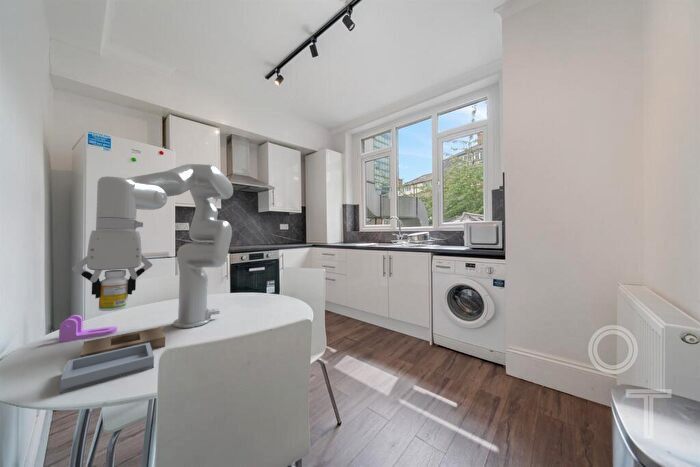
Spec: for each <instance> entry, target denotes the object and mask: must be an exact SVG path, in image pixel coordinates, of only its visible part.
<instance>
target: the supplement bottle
mask: <svg viewBox="0 0 700 467" xmlns="http://www.w3.org/2000/svg"><path fill="white" fill-rule="evenodd" d="M104 271H105V272H104V278H105V279H102V280H100V281H101V282H100V297H99V298H98V311H101V312H110V311H111V312H112V311H118V310H122V309H125V308H127V307H128V304H129V294H128V288H129V280H128V279H129V278H126V277H125V276H126V275H127V269H115V270H104Z"/></svg>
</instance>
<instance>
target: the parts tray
mask: <svg viewBox="0 0 700 467" xmlns="http://www.w3.org/2000/svg"><path fill="white" fill-rule="evenodd" d="M153 352H154V351H153V349H152V348H151V345H150V343H145V344H141V345H136V346H132V347H127V348H122V349H118V350H113V351H109V352H104V353H100V354H95V355H91V356H86V357H82V358H80V357H78V358H74V359H69V360H67V362H66V364H65V367H64V370H63V372H62V375H61V378H60V388H59V390H60V391H59V394H64V393H67V392H71V391H74V390H77V389H82V388H84V387H85V388H86V387H89V386H91V385H96V384H99V383H102V382H107V381H110V380H111V381H112V380H114V379H117V378H120V377H121V378H122V377H125V376H128V375H132V374H135V373H139V372H143V371H148V370H150V369H153V368H154V364H155V355H154V353H153ZM63 392H64V393H63Z"/></svg>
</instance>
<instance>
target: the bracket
mask: <svg viewBox="0 0 700 467" xmlns="http://www.w3.org/2000/svg"><path fill="white" fill-rule="evenodd" d="M83 321H84V320H83V317H82V316H81V315H79V314H73V315H70V316H69V317H68V318H66V319H64V320H63V321H61V323H60V324H59V326H58V327H59V331H58V333H59V334H58V343H63V342H71V341H77V340H83V339H91V338H97V337H98V338H99V337H105V336H111V335H113V334H115V333H117V331H118V327H117V326H107V327H105V326H104V327H98V328H89V329H83V327H84V326H83Z"/></svg>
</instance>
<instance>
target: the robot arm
mask: <svg viewBox="0 0 700 467" xmlns="http://www.w3.org/2000/svg"><path fill="white" fill-rule="evenodd" d="M188 191H189V192H190V194H191V198H192V200H193V203H194V206H195V211H194V214H193V218H192V221H191V225H190V227H189V232H188V236H189V238H190V239H191V240H192V241H193V242H195V243H193V242H191V243H185V244H183V245H181V246H180V247H179V248H178V250H177V253H176V259H177V266H178V270H179V281H178V282H179V283H178V286H179V287H178V315H177V316H178V317H177V318H176V319H175V320H174V321H173V322H172V325H173V327H174V328H180V329H184V328H185V329H186V328H187V329H188V328H195V326H196V327H200V326H202V325H206V324H208V323H210V322H211V318H212V317H211V316H212V315H213V316H214V315H219V314H220V309H219V308H218V309H212V308H211V309H208V308H207V307H208V306H207V305H208V275H207V273H206V271H205V270H204V268H221V267H223V265H225V263H226V261H227V259H228V258H227V257H228V254H229V250H230V246H231V242H232V237H233V228H232V225H231V224H230V222H229V221H227V220H225V219H218V215H219V211H218V208H217V207H216V205H215V203H213V202H212V200H229V199H230V198H231V197H232V196H233V194H234V187H233V184H232V182H231V181H230V179H229V178H228V177H227V176H226V175H225V174H224V173H223V172H222V171H221V170H220V169H219V168H218V167H216V166H214V165H212V164H201V163H199V164H198V163H197V164H196V163H186V164H182V165H180V166H176V167H173V168H171V169H168V170H165V171H160V172H153V173H147V174H141V175H136V176H130V177H127V178H125V177H119V176H108V175H107V176H102V177H100V178H99V179H98V180H97V191H96V194H97V195H96V216H95V217H96V218H95V220H96V222H95V229H94V230H91V232H90V235H89V240H88V246H87V256H85V257H84V258H82V259H81V260H80V261H79V262H78V263H76V264H75V265H73V266H72V268H71V271H73V272H74V273H76V274H78V275H80V276H82V277H83V278H84V279H86V280H87V281H90V282H91V296H93V295H94V296H95V299H99V297H100V282H101V281H102V280H100V278H99V277H100V276H101V273H102V271H110V270H127V271H128V273H129V278H127V279H128V280H129V288H128V296H129V295H133V291H136V284H137V279H138V277H140V276H141V275H143V274H144V273H145V272H146V271H147V270H149V269H150V268H152V267H153V263H152V262H150V260H148V259H147V258H146V257H145V256H143V254H142V241H141V234H140V231H137V230H136V229H138V228H143V227H144V222H142V221H138V220H137V210H143V211H145V210H147V211H149V210H150V211H151V210H152V211H153V210H159V209H161V208H163V207H164V206H165V205H166V204H167V202H168V197H175V196H180V195H182V194H184V193H187V192H188ZM142 264H144V265H143V266H141V265H142ZM85 266H87V269H88V270H90V271H91V270H92V271H93V273H91V272H90V271H88V270H86V269H84V268H83V267H85ZM140 266H141V267H140ZM136 268H138V269H137V270H136Z"/></svg>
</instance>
